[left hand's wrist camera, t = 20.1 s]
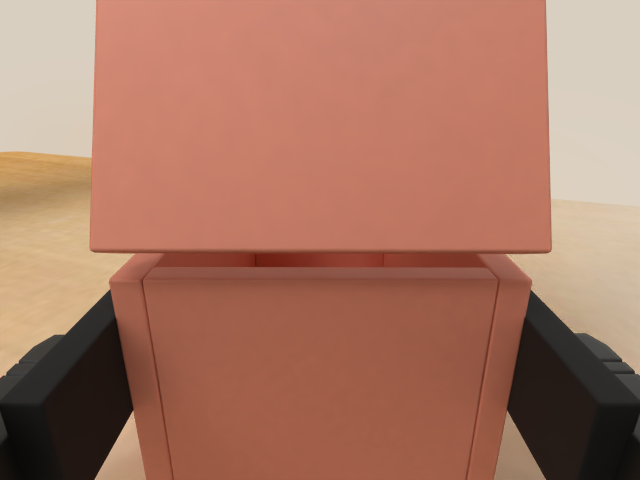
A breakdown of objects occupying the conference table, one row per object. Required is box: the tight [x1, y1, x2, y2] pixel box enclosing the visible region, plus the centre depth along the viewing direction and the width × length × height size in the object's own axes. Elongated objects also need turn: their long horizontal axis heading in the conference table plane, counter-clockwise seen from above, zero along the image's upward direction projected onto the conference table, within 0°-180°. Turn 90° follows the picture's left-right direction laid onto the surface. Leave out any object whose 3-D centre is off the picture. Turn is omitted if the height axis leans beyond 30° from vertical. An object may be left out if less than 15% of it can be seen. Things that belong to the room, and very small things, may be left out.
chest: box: [109, 253, 532, 480], centre depth 19 cm, size 17×10×9 cm, turn 0°
